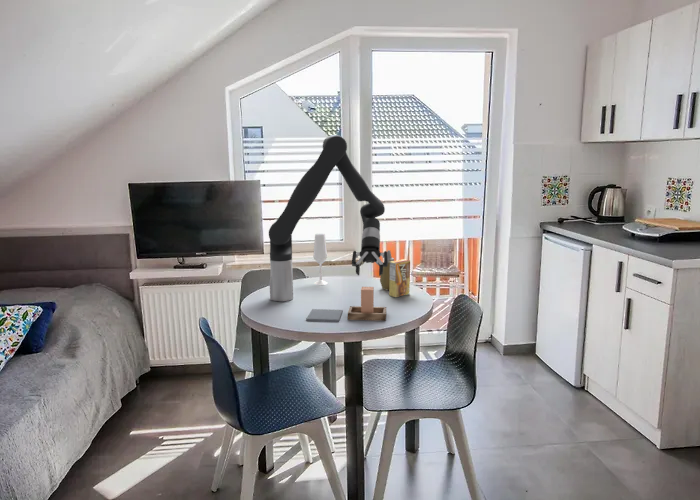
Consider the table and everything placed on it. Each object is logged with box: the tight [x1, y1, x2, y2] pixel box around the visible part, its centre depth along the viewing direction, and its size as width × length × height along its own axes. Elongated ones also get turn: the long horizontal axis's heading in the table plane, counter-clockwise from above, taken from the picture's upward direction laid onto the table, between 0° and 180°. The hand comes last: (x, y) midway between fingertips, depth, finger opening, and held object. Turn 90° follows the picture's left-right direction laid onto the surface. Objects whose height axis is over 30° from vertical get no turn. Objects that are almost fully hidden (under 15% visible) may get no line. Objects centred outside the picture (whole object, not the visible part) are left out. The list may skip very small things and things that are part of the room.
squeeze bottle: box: [379, 249, 395, 291], centre depth 215 cm, size 8×8×18 cm
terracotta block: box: [360, 286, 375, 313], centre depth 176 cm, size 4×4×11 cm
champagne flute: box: [313, 233, 328, 286], centre depth 225 cm, size 7×7×24 cm
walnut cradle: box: [347, 305, 387, 322], centre depth 177 cm, size 14×9×2 cm, turn 84°
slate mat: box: [305, 308, 343, 323], centre depth 177 cm, size 12×12×1 cm
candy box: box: [388, 258, 411, 298], centre depth 205 cm, size 9×4×15 cm, turn 129°
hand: (369, 274), depth 184 cm, fingers open, 8 cm apart
